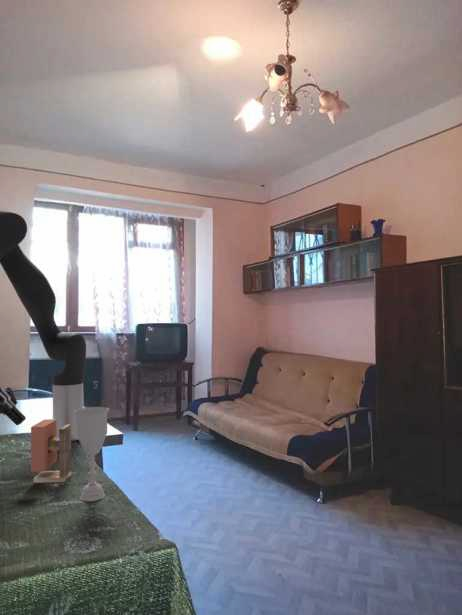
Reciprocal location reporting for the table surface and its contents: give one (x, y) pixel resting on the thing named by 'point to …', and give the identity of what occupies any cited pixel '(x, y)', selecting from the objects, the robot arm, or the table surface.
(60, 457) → the pipe stand
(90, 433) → the chalice
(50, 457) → the pink block with hole
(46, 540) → the table surface
